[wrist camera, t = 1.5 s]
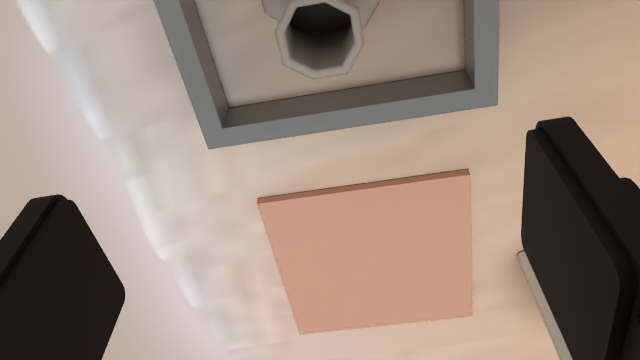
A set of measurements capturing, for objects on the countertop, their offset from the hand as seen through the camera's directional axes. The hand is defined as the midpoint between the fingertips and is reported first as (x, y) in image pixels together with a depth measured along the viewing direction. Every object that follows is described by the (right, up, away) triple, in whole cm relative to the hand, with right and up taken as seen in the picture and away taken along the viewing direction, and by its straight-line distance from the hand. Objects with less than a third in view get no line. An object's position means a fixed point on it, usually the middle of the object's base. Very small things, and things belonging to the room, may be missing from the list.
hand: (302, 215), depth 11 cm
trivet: (+4, -5, +28) cm, 29 cm away
